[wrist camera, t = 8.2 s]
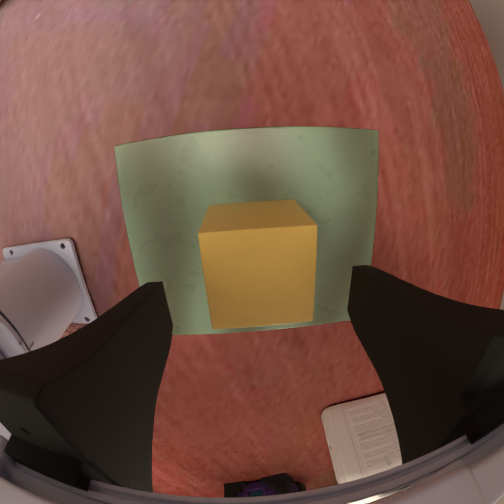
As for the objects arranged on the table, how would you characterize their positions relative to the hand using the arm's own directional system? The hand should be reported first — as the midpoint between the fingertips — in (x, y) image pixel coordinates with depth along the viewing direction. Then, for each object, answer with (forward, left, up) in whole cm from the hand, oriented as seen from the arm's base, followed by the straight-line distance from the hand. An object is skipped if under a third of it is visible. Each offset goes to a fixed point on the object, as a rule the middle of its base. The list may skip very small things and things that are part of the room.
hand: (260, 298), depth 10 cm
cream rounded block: (+12, -24, -10) cm, 28 cm away
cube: (0, 0, -5) cm, 5 cm away
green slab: (0, 0, -10) cm, 10 cm away
